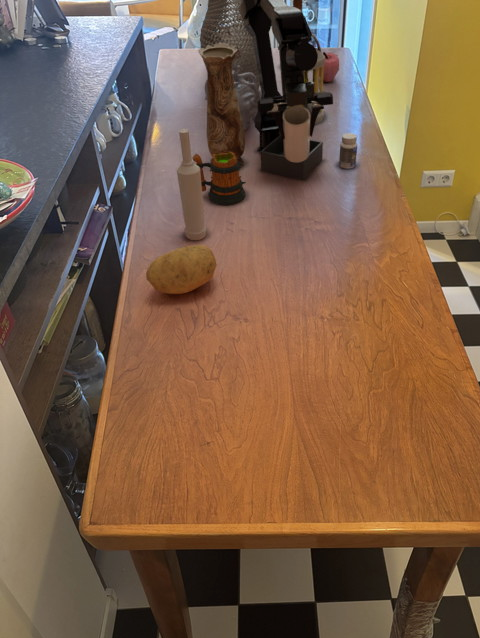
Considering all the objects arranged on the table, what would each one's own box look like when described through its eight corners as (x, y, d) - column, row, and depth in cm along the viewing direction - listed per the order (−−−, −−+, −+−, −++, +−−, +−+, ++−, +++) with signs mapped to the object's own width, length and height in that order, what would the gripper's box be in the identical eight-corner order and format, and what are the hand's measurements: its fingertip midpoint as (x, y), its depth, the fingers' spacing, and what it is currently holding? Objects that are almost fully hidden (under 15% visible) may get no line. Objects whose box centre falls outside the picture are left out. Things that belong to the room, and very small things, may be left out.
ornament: (199, 137, 184) (192, 69, 170) (226, 113, 197) (221, 48, 184) (252, 145, 179) (250, 76, 166) (276, 120, 193) (276, 54, 179)
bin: (260, 170, 168) (260, 151, 164) (281, 152, 176) (281, 133, 172) (303, 180, 164) (303, 160, 160) (322, 160, 172) (323, 141, 168)
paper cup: (279, 157, 160) (278, 120, 149) (290, 140, 163) (290, 102, 151) (302, 165, 159) (303, 129, 148) (313, 147, 161) (314, 110, 150)
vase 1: (281, 92, 211) (281, -26, 186) (245, 113, 197) (239, -11, 173) (229, 80, 219) (223, -34, 195) (191, 99, 206) (179, -21, 181)
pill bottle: (354, 169, 168) (357, 140, 162) (337, 168, 169) (339, 138, 163) (356, 162, 171) (359, 132, 165) (340, 160, 172) (342, 131, 166)
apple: (338, 85, 215) (340, 55, 208) (314, 85, 215) (315, 55, 208) (337, 76, 222) (339, 46, 215) (313, 76, 222) (314, 46, 215)
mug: (246, 186, 161) (244, 144, 153) (246, 205, 154) (244, 162, 146) (197, 187, 161) (192, 145, 153) (195, 206, 153) (190, 163, 145)
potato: (219, 299, 126) (216, 260, 119) (149, 304, 125) (142, 265, 118) (217, 271, 133) (214, 233, 126) (151, 276, 132) (144, 238, 125)
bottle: (210, 231, 145) (200, 127, 128) (201, 242, 142) (189, 137, 124) (190, 227, 146) (178, 124, 129) (181, 238, 143) (167, 133, 125)
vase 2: (253, 163, 171) (249, 48, 150) (226, 176, 165) (217, 58, 144) (228, 152, 176) (220, 39, 155) (201, 164, 171) (189, 49, 150)
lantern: (314, 106, 201) (317, 22, 184) (330, 122, 192) (335, 35, 174) (274, 111, 198) (273, 26, 181) (288, 128, 188) (288, 40, 171)
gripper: (255, 76, 140) (262, 146, 147) (335, 67, 140) (338, 138, 148) (253, 73, 150) (260, 140, 157) (328, 66, 150) (331, 132, 158)
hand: (297, 138), depth 155 cm, fingers closed on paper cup, 7 cm apart
